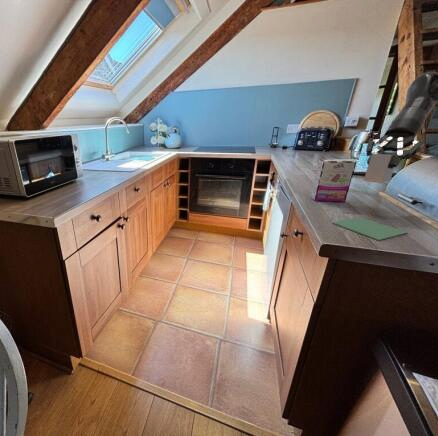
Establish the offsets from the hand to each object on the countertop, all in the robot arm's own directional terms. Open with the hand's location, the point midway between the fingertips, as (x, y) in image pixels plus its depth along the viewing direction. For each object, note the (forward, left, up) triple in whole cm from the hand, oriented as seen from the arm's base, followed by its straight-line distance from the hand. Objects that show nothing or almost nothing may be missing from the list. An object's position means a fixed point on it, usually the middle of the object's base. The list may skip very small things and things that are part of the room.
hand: (379, 165), depth 80 cm
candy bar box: (-3, -16, -17) cm, 23 cm away
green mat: (+12, +8, -17) cm, 22 cm away
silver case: (-2, 0, -5) cm, 5 cm away
